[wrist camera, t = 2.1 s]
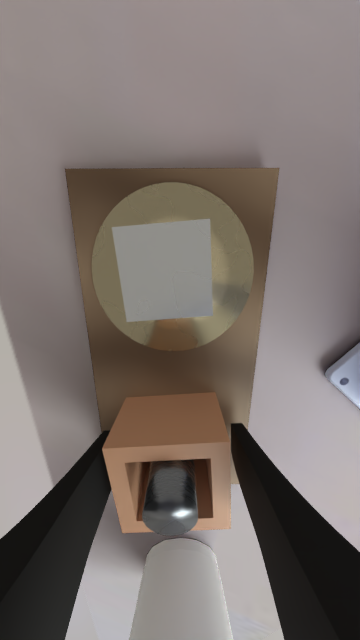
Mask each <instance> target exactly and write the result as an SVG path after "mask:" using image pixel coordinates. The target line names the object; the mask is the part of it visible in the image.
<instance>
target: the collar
mask: <svg viewBox="0 0 360 640" xmlns="http://www.w3.org/2000/svg"><path fill="white" fill-rule="evenodd" d="M102 451H103V455H104V459H105V463H106V467H107V471H108V476H109V480H110V484H111V488H112V492H113V496H114V501H115V505H116V509H117V513H118V517H119V521H120V526H121V530H122V533H140V532H153V531H152V530H150V529H149V528H148V527H147V526H146V525H145V524H144V522H143V519H142V513H143V507H144V501H145V495H146V489H147V483H148V477H149V471H150V465H151V461H168V460H188V459H194V466H195V480H196V494H197V508H198V521H197V523H196V525H195V526H194V527H193V528H192V529H191V530H215V529H231V461H230V439H229V436H228V432H227V429H226V426H225V422H224V419H223V416H222V412H221V409H220V406H219V402H218V399H217V396H216V393H215V392H208V393H192V394H175V395H159V396H142V397H126V399H125V401H124V403H123V405H122V407H121V409H120V411H119V413H118V416H117V418H116V420H115V422H114V424H113V426H112V428H111V431H110V433H109V435H108V437H107V439H106V441H105V443H104V446H103V448H102Z"/></svg>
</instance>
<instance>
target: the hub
mask: <svg viewBox="0 0 360 640" xmlns="http://www.w3.org/2000/svg"><path fill="white" fill-rule="evenodd" d="M253 273H254V263H253V254H252V248H251V244H250V241H249V238H248V235H247V233H246V231H245V228H244V226H243V225H242V223H241V221H240V220H239V218H238V217H237V215H236V214H235V213H234V212H233V211H232V209H231V208H230V207H229V206H228V205H227V204H226V203H225V202H223V201H222V200H221V199H220V198H218V197H217V196H215V195H214V194H212V193H211V192H209V191H207V190H205V189H202V188H200V187H197V186H194V185H190V184H185V183H178V182H164V183H159V184H153V185H150V186H147V187H144V188H141V189H139V190H137V191H135V192H133V193H131V194H130V195H128V196H127V197H126V198H124V199H123V200H122V201H120V202H119V203H118V204H117V205H116V206H115V207H114V208H113V209H112V211H111V212H110V213H109V215H108V216H107V217H106V219H105V220H104V222H103V224H102V226H101V227H100V230H99V232H98V235H97V237H96V240H95V244H94V248H93V254H92V277H93V284H94V288H95V291H96V295H97V297H98V300H99V302H100V304H101V306H102V308H103V310H104V312H105V313H106V315H107V316H108V317H109V319H110V320H111V321H112V322H113V324H114V325H115V326H116V327H117V328H118V329H119V330H120V331H122V332H123V333H124V334H125V335H127V336H128V337H130V338H131V339H132V340H134V341H136V342H138V343H140V344H142V345H145V346H148V347H150V348H154V349H158V350H165V351H182V350H189V349H193V348H197V347H199V346H202V345H205V344H207V343H209V342H211V341H212V340H214V339H216V338H217V337H219V336H220V335H221V334H223V333H224V332H225V331H226V330H227V329H228V328H229V327H230V326H231V325H232V324H233V323H234V322H235V321H236V319H237V318H238V316H239V315H240V313H241V312H242V310H243V308H244V306H245V304H246V302H247V300H248V297H249V294H250V291H251V287H252V282H253Z"/></svg>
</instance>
